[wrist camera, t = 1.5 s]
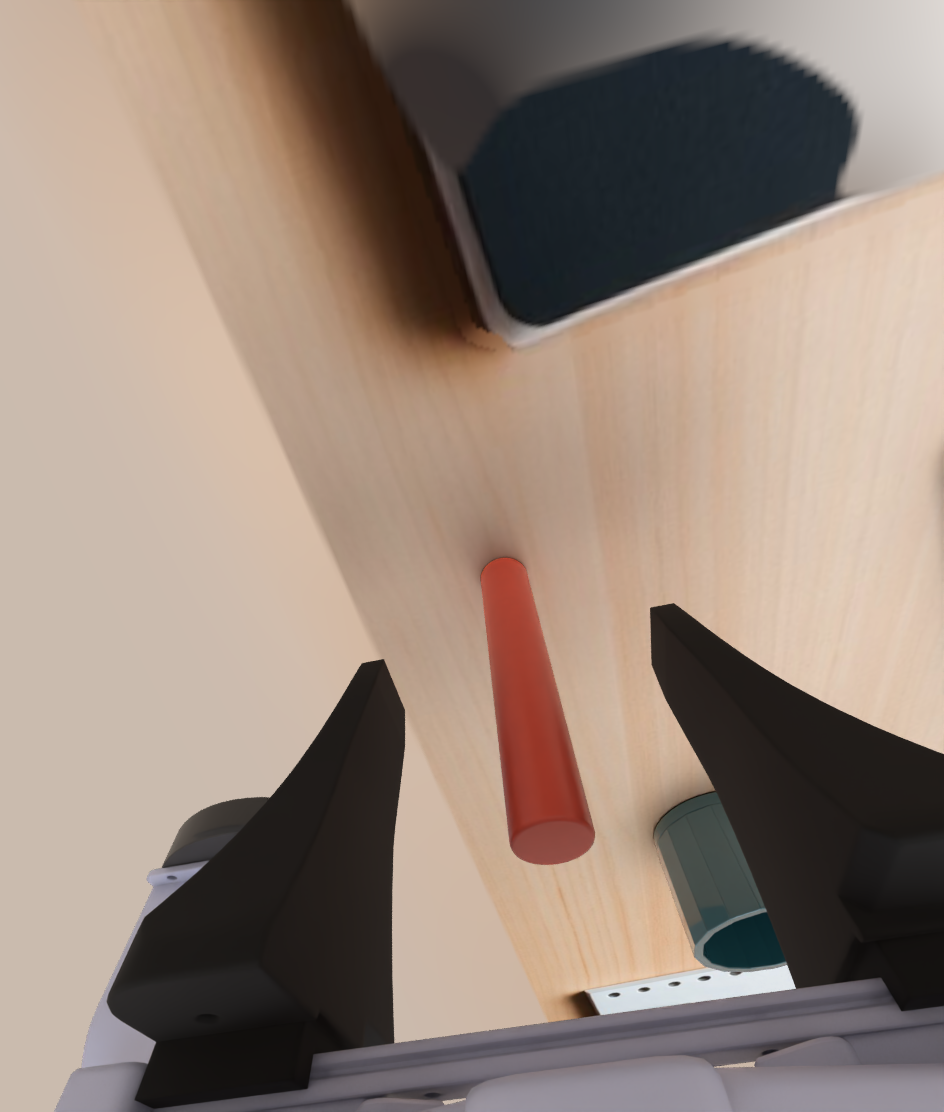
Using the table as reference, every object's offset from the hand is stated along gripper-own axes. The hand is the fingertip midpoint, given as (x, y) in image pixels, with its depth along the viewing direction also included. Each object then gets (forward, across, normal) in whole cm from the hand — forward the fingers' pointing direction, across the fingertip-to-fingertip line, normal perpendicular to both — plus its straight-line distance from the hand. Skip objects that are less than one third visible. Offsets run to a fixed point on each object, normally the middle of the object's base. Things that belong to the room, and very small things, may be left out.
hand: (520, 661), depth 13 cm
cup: (+4, -8, +18) cm, 20 cm away
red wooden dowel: (+4, 0, 0) cm, 4 cm away
